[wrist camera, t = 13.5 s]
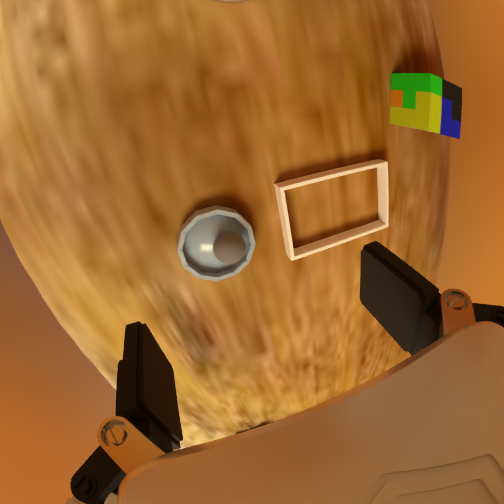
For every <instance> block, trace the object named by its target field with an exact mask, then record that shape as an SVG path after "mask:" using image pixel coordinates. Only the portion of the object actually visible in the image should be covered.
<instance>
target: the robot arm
mask: <svg viewBox="0 0 504 504" xmlns="http://www.w3.org/2000/svg"><path fill="white" fill-rule="evenodd" d="M218 1H223V2H243V1H248V0H218ZM438 291H439V289H438V288H437V287H436V286H434V285H433V284H432V283H431V282H429V281H428V280H427V279H426V278H425V277H423V276H422V275H421V274H419V273H418V272H417V271H416V270H414V269H413V268H412V267H411V266H409V265H408V264H407V263H405V262H404V261H403V260H401V259H400V258H399V257H398V256H396V255H395V254H394V253H392V252H391V251H390V250H388V249H387V248H385V247H384V246H383V245H381V244H380V243H379V242H377V241H374V242H372V243H369V244H366V245H364V247H363V250H362V251H361V278H360V300H361V302H362V304H363V305H364V306H365V307H366V309H367V310H368V311H369V312H370V313H371V314H372V315H373V316H374V317H375V318H376V320H377V321H378V322H379V323H380V324H381V325H382V326H383V327H384V328H385V330H386V331H387V332H388V333H389V334H390V335H391V336H392V337H393V339H394V340H395V341H396V342H397V343H398V344H399V345H400V347H401V348H402V349H403V350H404V351H406V352H407V351H408V352H409V353H410V354H411V355H412V356H411V357H409V358H408V359H406V360H404V361H403V362H401V363H399V364H397V365H396V366H394V367H392V368H391V369H389V370H387V371H385V372H383V373H382V374H380V375H378V376H376V377H374V378H372V379H370V380H368V381H367V382H365V383H363V384H361V385H359V386H357V387H355V388H353V389H351V390H349V391H347V392H344V393H342V394H340V395H338V396H336V397H334V398H332V399H329V400H327V401H325V402H323V403H320V404H318V405H316V406H313V407H311V408H309V409H306V410H304V411H301V412H299V413H296V414H294V415H291V416H288V417H286V418H283V419H280V420H278V421H275V422H272V423H269V424H266V425H264V426H261V427H258V428H255V429H251V430H248V431H245V432H242V433H238V434H235V435H232V436H228V437H225V438H221V439H218V440H214V441H211V442H207V443H203V444H199V445H195V446H191V447H187V448H184V449H180V450H177V451H173V449H179V448H181V447H180V442H179V441H182V440H183V435H182V429H181V423H180V417H179V410H178V403H177V396H176V388H175V380H174V372H173V368H172V366H171V364H170V362H169V361H168V359H167V358H166V356H165V354H164V353H163V351H162V350H161V348H160V347H159V345H158V343H157V342H156V340H155V338H154V337H153V335H152V333H151V332H150V330H149V328H148V327H147V325H146V324H141V322H139V321H138V322H135V323H132V324H128V325H126V328H125V339H124V351H123V360H120V361H119V363H118V371H117V389H116V416H113V417H110V418H108V419H106V420H105V421H104V422H103V423H102V424H101V425H100V427H99V430H98V434H97V438H98V442H99V443H100V446H99V447H98V448H97V449H96V450H95V451H94V452H93V454H92V455H91V456H90V457H89V458H88V459H87V460H86V461H85V463H84V464H83V465H82V466H81V467H80V468H79V470H78V471H77V472H76V473H75V474H74V476H73V477H72V479H71V491H72V494H73V497H72V499H71V498H68V500H67V503H66V504H504V307H503V306H496V305H487V304H478V303H472V301H471V299H470V297H469V296H468V295H467V293H465V292H464V291H462V290H459V289H448V290H445V291H444V292H443V293H442V295H441V294H440V293H439V292H438Z"/></svg>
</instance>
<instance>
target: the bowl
mask: <svg viewBox="0 0 504 504" xmlns="http://www.w3.org/2000/svg"><path fill="white" fill-rule="evenodd" d="M226 231H233V232H236V233H238V234H239V235H241V236H242V238H243V239H244V241H245V244H246V251H245V254H244V256H243V258H242V259H241V260H240V261H238V262H237V263H234V264H225V263H222V262H220V261H219V260H218V259H217V258H216V256H215V255H214V252H213V244H214V241H215V239H216V237H217V236H218V235H220V234H221V233H223V232H226ZM254 248H255V240H254V236H253V231H252V227H251V225H250V224H249V223H248V221H246V220H245V219H244V218H243V216H242V215H241V214H239V213H238V212H237V211H236V210H235V209H232V208H228V207H224V206H218V205H213V206H210V207H206V208H203V209H200V210H197V211H195V212H194V213H193V214H192V215H191V216H190V217H189V218H188V219H187V220H186V221H185V222H184V223H183V224H182V225H181V228H180V232H179V235H178V241H177V251H178V254H179V256H180V259H181V261H182V264H183V267H184V268H185V269H186V270H188V271H189V272H190V273H192V274H193V275H194V276H196V277H197V278H198V279H205V280H212V281H219V280H222V279H225V278H228V277H232V276H235V275H236V274H237V273H238V272H240V271H241V270H242V269H243V268H244V267H245V266H246V265H247V264H248V263H249V262H250V259H251V256H252V253H253V250H254Z"/></svg>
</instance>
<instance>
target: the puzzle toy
mask: <svg viewBox="0 0 504 504" xmlns="http://www.w3.org/2000/svg"><path fill="white" fill-rule="evenodd" d="M461 109H462V88H460V87H458V86H456V85H454V84H452V83H450V82H448V81H446V80H444V79H442V78H440V77H437V76H435V75H433V74H431V73H391V108H390V123H391V124H396V125H401V126H406V127H411V128H416V129H421V130H425V131H430V132H434V133H438V134H442V135H446V136H450V137H454V138H458V139H459V137H460V126H461Z"/></svg>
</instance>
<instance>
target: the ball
mask: <svg viewBox="0 0 504 504" xmlns="http://www.w3.org/2000/svg"><path fill="white" fill-rule="evenodd" d="M245 251H246V244H245V241H244V239H243V238H242V236H241V235H239V234H238V233H236V232H233V231H226V232H223V233H221V234H220V235H218V236H217V237H216V239H215V241H214V244H213V252H214V255H215V256H216V258H217V259H218V260H219V261H220V262H222V263H225V264H234V263H237V262H238V261H240V260H241V259H242V258H243V256H244V254H245Z"/></svg>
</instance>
